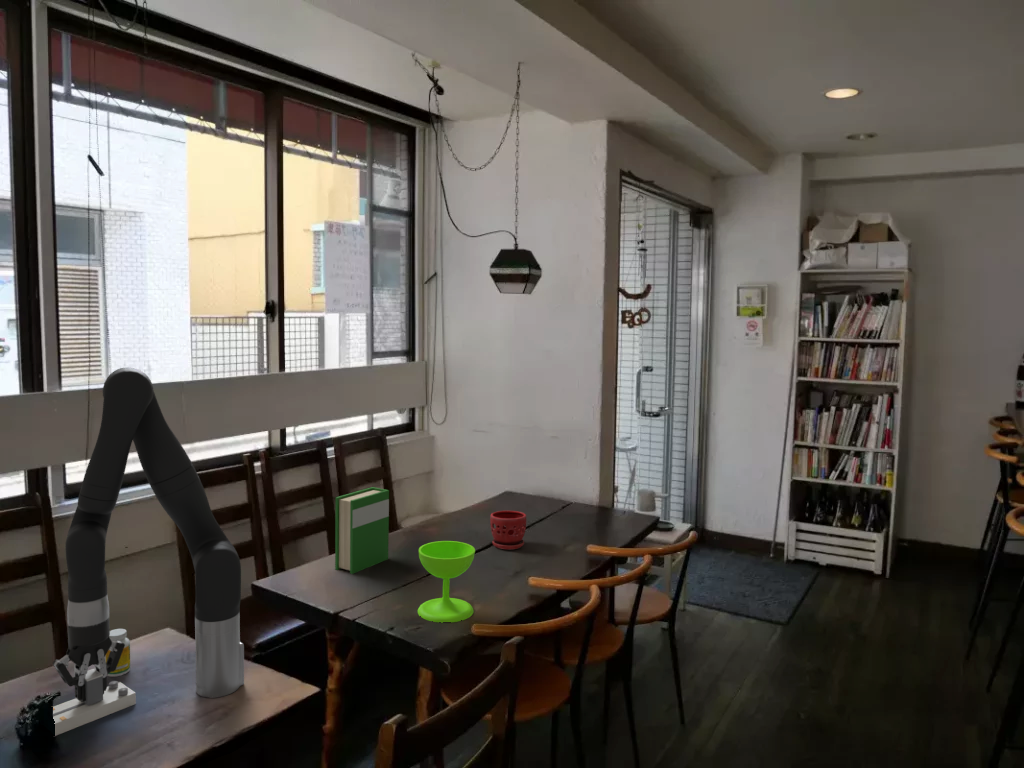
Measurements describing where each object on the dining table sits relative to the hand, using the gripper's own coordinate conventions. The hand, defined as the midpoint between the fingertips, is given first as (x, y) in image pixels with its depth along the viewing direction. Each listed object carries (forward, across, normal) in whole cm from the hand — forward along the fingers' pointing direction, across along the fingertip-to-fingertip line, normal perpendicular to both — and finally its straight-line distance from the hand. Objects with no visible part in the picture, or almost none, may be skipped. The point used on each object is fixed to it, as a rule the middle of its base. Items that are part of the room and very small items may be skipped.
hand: (91, 696), depth 156 cm
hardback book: (+4, -98, -28) cm, 101 cm away
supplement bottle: (+4, -12, -14) cm, 18 cm away
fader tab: (+1, 0, 0) cm, 1 cm away
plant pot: (+4, -146, -4) cm, 146 cm away
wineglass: (+4, -88, +20) cm, 90 cm away
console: (+3, 0, 0) cm, 3 cm away
